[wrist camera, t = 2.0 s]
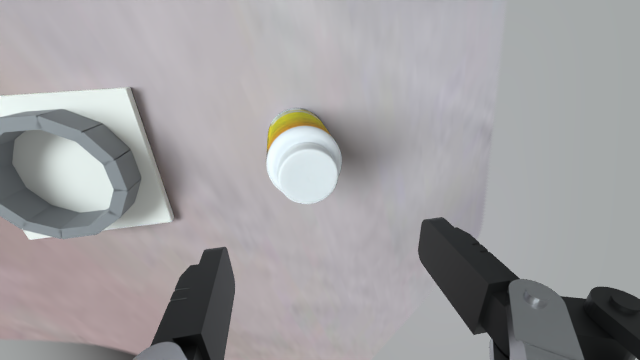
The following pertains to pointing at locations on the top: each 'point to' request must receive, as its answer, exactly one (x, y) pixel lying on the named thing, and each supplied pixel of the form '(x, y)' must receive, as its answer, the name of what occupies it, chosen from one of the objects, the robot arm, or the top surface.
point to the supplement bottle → (302, 156)
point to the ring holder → (77, 164)
